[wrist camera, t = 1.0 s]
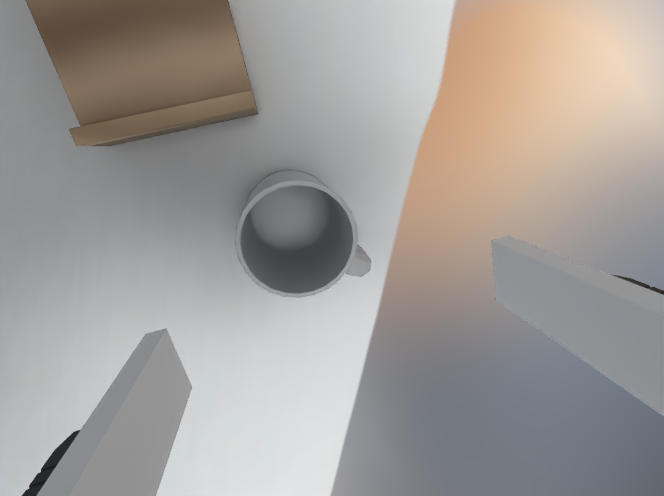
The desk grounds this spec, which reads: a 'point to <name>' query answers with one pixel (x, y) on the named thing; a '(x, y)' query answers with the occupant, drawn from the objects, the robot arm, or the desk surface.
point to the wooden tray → (145, 65)
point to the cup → (297, 236)
